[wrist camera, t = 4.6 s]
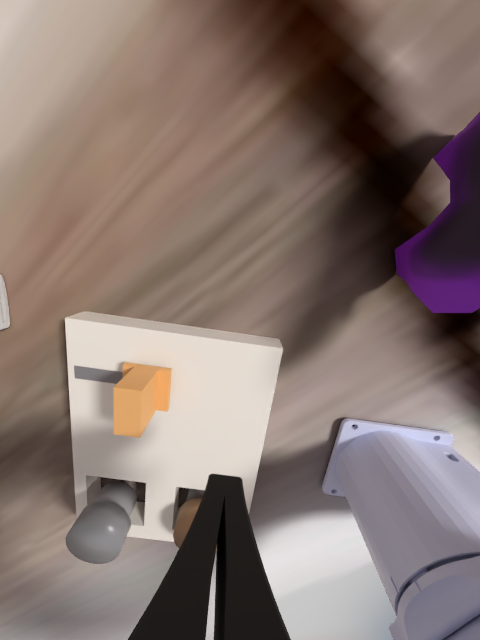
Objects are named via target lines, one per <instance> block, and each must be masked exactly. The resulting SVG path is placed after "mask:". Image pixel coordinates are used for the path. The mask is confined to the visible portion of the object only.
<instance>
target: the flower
mask: <svg viewBox="0 0 480 640" xmlns="http://www.w3.org/2000/svg"><path fill="white" fill-rule="evenodd" d="M433 159H434V160H435V161H436V162H437V164H438V165H439V166H440V167H441V169H442V170H443V171H444V173H445V174H446V176H447V177H448V178H449V180H450V204H449V205H448V206H447V207H446V208H445V209H444V210H443V211H442V212H441V214H440V215H439V216H438V217H437V218H436V219H435V220H434V221H433V222H432V223H431V225H429V226H428V227H426V228H425V229H424V230H422V231H421V232H419V233H418V234H416V235H415V236H414V237H412V238H411V239H409V240H408V241H406V242H405V243H403V244H402V245H400V246H399V247H398V248H396V249H395V260H396V269H397V274H398V275H399V276H400V277H401V278H402V279H404V280H405V281H406V282H407V284H408V285H409V287H410V289H411V291H412V292H413V293H414V294H415V295H416V296H417V297H418V298H419V299H420V300H421V301H422V302H423V303H424V304H425V305H426V306H427V307H428V308H429V309H430V310H431V311H432V312H433V313H473V312H474V311H476V310H478V309H479V308H480V112H479V113H478V114H477V115H476V117H475V118H474V119H473V120H472V121H471V122H470V123H469V124H468V125H467V126H466V128H465V129H464V130H462V131H461V132H460V133H458V134H457V135H456V136H455V137H454V138H453V139H452V140H451V141H450V142H449V143H448V144H447V145H446V146H445V147H444V148H443V149H442V150H441V151H440V152H439V153H438V154H437V155H436V156H435V157H434V158H433Z"/></svg>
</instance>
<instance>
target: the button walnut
mask: <svg viewBox="0 0 480 640" xmlns="http://www.w3.org/2000/svg"><path fill="white" fill-rule="evenodd" d="M204 491H205V490H198V489H190V488H189V492H188V496H187V500H186V502H185V503H184V504H183V505H182V506H181V508H180V510H179V513H178V517H177V521H176V525H175V529H174V533H173V539H174V542H175V544H176V545H177V546H178V547H179V548H180V547H181V545H182V543H183V541H184V539H185V537H186V535H187V532H188V530H189V528H190V526H191V524H192V521H193V519H194V517H195V514H196V512H197V510H198V507H199V505H200V502H201V500H202V497H203V494H204ZM216 551H217V547H216Z"/></svg>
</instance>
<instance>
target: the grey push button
mask: <svg viewBox="0 0 480 640" xmlns="http://www.w3.org/2000/svg"><path fill="white" fill-rule="evenodd" d="M136 501H137V494H136V492H135V490H134V489H133V488H132V487H131V486H129V485H128V484H125V483H122V482H110V483H108V484H106V485H105V486H104V487H103V488H102V489H101V491H100V493H99V494H98V496H97V498H96V499H95V501H94V502H93V503H91V504H89V505H87V506H86V507H85V508H84V509H83V511H82V512H81V514H80V515H79V517H78V518H77V520H76V521H75V523H74V525H73V526H72V528H71V529H70V531H69V532H68V534H67V536H66V545H67V547H68V549H69V551H70V552H71V553H72V554H73V555H74V556H76V557H77V558H79V559H81V560H83V561H85V562H89V563H94V564H103V563H108V562H110V561H113V560H114V559H115V558H117V556H118V555H119V553H120V551H121V549H122V546H123V544H124V542H125V539H126V537H127V534H128V532H129V530H130V527H131V520H130V515H131V513H132V510H133V508H134V506H135V504H136Z"/></svg>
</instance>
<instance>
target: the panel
mask: <svg viewBox="0 0 480 640" xmlns="http://www.w3.org/2000/svg"><path fill="white" fill-rule="evenodd" d="M65 328H66V346H67V363H68V380H69V398H70V415H71V433H72V450H73V468H74V485H75V503H76V520H77V518H78V517H79V515H80V514H81V512H82V511H83V509H84V508H85V507H86V506H87V505H89V504H91V503H93V502H94V501H95V499H96V498H97V496H98V494H99V493H100V491H101V477H104V478H112V479H119V480H127V481H135V482H143V483H146V495H145V502H139V501H136V504H135V506H134V508H133V510H132V513H131V515H130V520H131V527H130V530H129V532H128V534H127V536H129V537H138V538H146V539H154V540H162V541H170V542H174V539H173V533H174V529H175V525H176V521H177V517H178V513H179V510H180V508H181V507H178V503H179V492H180V487H182V488H190V489H198V490H205V488H206V485H207V481H208V477H209V475H210V474H220V475H228V476H236V477H241V479H242V481H243V489H244V495H245V500H246V505H247V510H248V514H249V512H250V507H251V502H252V497H253V493H254V488H255V483H256V478H257V473H258V468H259V463H260V459H261V454H262V449H263V444H264V439H265V434H266V430H267V425H268V420H269V415H270V410H271V405H272V400H273V396H274V391H275V386H276V381H277V376H278V371H279V366H280V362H281V357H282V352H283V347H282V345H281V342H280V340H279V339H277V338H270V337H263V336H256V335H249V334H242V333H235V332H228V331H221V330H214V329H207V328H200V327H193V326H186V325H179V324H171V323H164V322H157V321H150V320H143V319H136V318H129V317H122V316H115V315H108V314H101V313H94V312H87V311H84V312H81V313H78V314H75V315H72V316H69V317H66V318H65ZM125 362H129V363H136V364H143V365H150V366H158V367H165V368H172V376H171V390H170V403H169V409H168V411H167V412H166V411H158V410H156V411H155V413H154V415H153V417H152V418H151V420H150V422H149V423H148V425H147V427H146V429H145V430H144V432H143V434H142V436H141V437H140V438H138V437H130V436H123V435H115V434H114V386H115V385H116V384H117V383H118V382H119V381H120V380H121V379H122V378H123V364H124V363H125Z"/></svg>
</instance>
